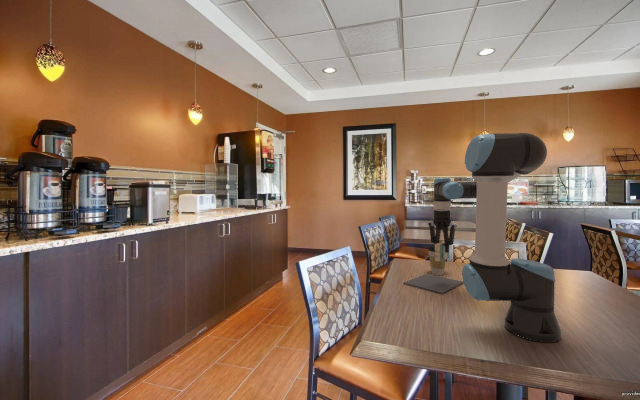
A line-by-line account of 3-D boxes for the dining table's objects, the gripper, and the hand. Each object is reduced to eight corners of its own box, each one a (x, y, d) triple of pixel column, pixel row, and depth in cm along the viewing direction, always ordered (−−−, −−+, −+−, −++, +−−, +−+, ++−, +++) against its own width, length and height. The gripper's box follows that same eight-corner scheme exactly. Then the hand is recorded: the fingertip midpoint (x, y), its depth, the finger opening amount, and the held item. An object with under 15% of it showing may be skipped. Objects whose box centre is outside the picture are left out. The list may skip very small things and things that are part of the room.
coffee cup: (448, 272, 166) (448, 246, 166) (445, 277, 158) (445, 249, 158) (430, 270, 172) (430, 244, 171) (426, 274, 163) (426, 247, 163)
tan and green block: (440, 261, 140) (440, 244, 140) (434, 260, 142) (434, 244, 142) (449, 257, 146) (449, 241, 145) (444, 256, 148) (444, 241, 147)
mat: (442, 294, 133) (442, 292, 133) (403, 284, 148) (403, 282, 148) (463, 283, 148) (463, 281, 148) (426, 275, 162) (426, 273, 162)
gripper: (462, 210, 139) (461, 259, 140) (430, 208, 151) (430, 254, 152) (454, 211, 134) (454, 262, 135) (422, 209, 146) (422, 256, 147)
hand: (441, 258), depth 144 cm, fingers closed on tan and green block, 3 cm apart
